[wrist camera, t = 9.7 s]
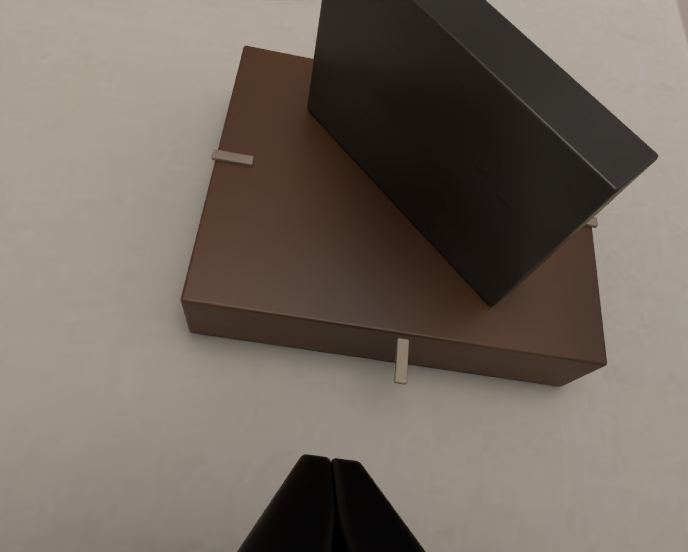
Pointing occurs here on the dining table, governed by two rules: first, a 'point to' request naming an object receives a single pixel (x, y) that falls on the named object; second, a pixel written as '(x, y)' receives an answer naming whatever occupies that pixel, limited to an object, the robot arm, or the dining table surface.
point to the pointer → (469, 131)
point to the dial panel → (361, 257)
